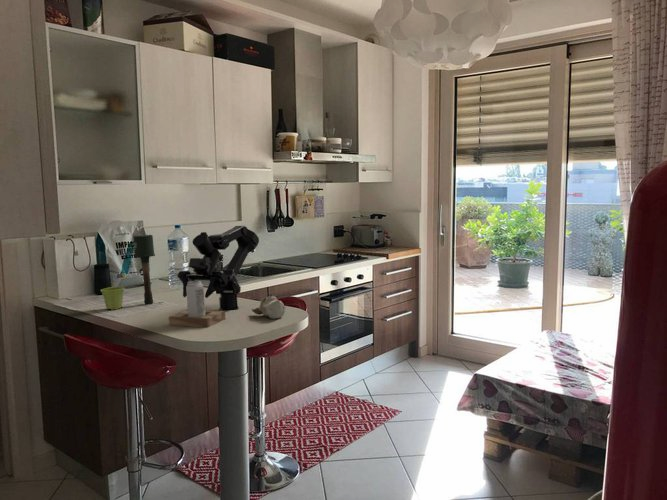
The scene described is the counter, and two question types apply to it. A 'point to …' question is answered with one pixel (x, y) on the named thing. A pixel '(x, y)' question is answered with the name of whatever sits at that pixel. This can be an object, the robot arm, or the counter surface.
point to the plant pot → (113, 297)
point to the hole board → (197, 319)
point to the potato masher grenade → (145, 261)
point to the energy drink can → (195, 299)
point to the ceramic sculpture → (270, 307)
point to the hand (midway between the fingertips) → (194, 297)
